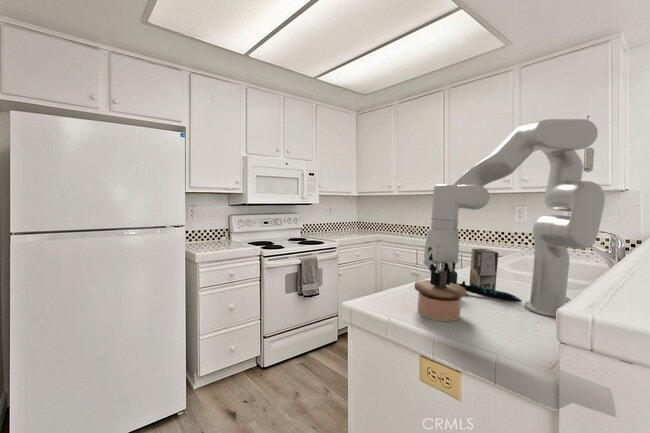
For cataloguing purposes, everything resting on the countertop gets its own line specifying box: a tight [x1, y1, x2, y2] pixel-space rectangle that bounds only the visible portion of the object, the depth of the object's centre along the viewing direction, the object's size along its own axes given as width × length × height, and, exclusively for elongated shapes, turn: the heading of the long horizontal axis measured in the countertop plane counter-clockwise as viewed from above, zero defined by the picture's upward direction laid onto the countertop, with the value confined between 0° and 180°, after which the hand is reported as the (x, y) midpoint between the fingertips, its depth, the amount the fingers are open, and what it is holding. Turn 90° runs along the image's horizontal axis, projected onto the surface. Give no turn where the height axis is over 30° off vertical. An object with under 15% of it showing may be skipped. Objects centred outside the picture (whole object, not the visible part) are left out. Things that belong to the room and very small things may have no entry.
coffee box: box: [468, 248, 499, 290], centre depth 127 cm, size 9×6×16 cm
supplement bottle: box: [439, 263, 458, 284], centre depth 120 cm, size 7×7×12 cm
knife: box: [457, 280, 522, 303], centre depth 121 cm, size 31×3×4 cm, turn 60°
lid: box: [414, 269, 467, 298], centre depth 100 cm, size 15×15×6 cm
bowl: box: [417, 291, 462, 322], centre depth 101 cm, size 12×12×6 cm
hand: (440, 283), depth 100 cm, fingers closed on lid, 3 cm apart
